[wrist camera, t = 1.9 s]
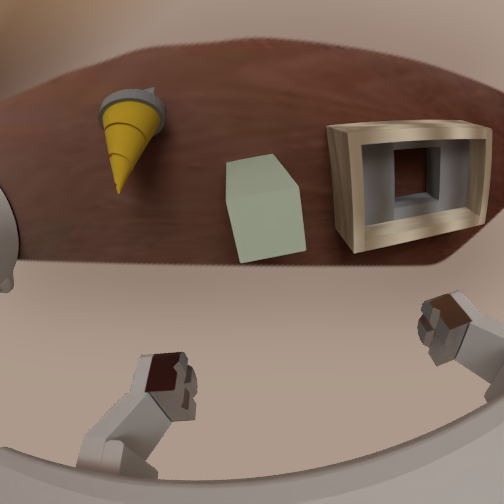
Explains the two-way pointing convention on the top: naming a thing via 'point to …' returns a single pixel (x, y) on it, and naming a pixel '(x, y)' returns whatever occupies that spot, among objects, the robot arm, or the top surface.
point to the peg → (263, 208)
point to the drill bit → (130, 127)
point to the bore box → (383, 181)
